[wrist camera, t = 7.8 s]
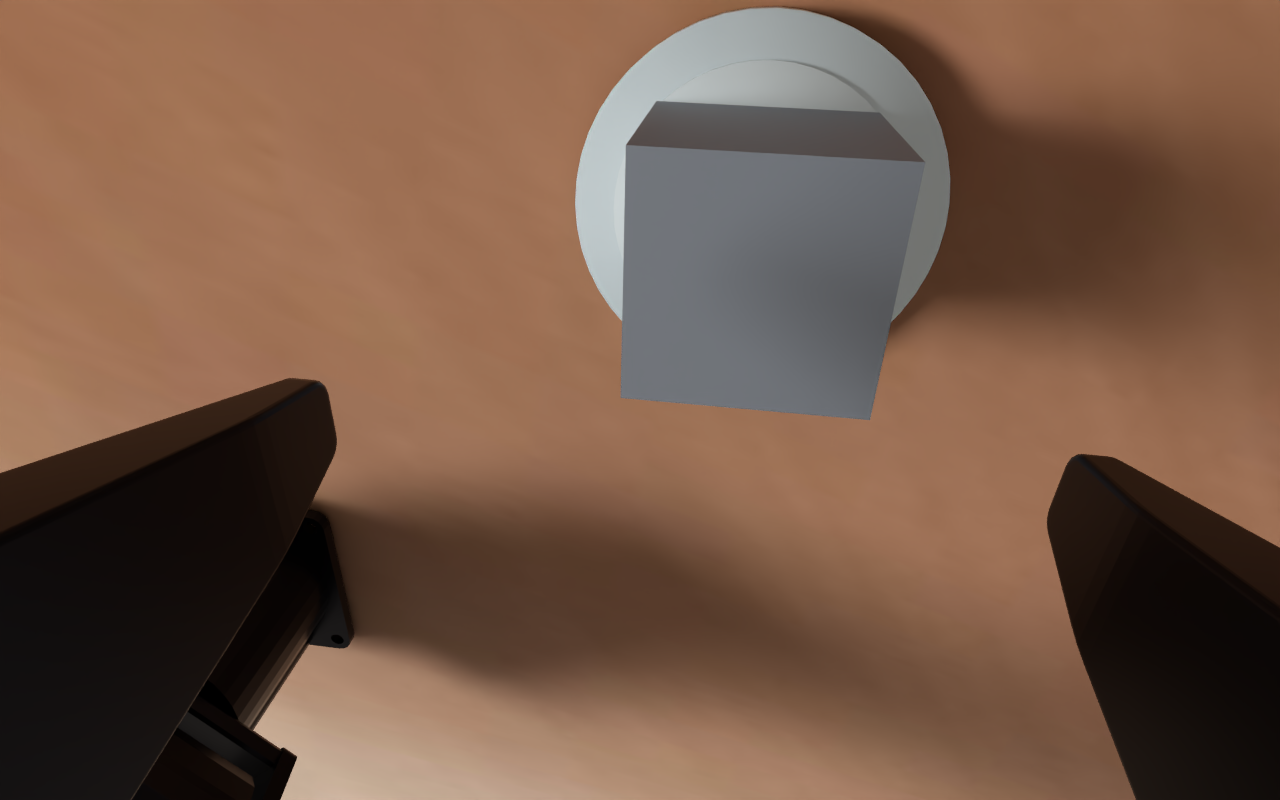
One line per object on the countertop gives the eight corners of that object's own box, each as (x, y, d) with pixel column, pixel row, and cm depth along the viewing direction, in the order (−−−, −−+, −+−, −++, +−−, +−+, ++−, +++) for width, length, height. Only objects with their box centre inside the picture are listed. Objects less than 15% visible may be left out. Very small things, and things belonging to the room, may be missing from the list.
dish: (898, 371, 21) (907, 395, 20) (585, 345, 22) (575, 366, 21) (980, 14, 17) (998, 17, 16) (582, -2, 18) (570, 0, 16)
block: (842, 319, 19) (870, 420, 15) (648, 303, 20) (620, 398, 15) (880, 112, 17) (924, 162, 12) (656, 100, 17) (625, 144, 13)
